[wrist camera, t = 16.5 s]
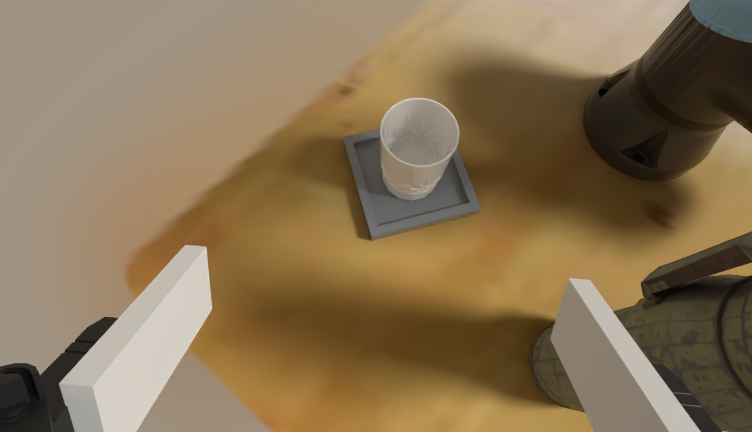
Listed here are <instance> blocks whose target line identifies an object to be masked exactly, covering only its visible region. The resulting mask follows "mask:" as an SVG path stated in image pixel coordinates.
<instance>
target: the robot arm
mask: <svg viewBox="0 0 752 432" xmlns="http://www.w3.org/2000/svg"><path fill="white" fill-rule="evenodd" d="M734 120H735V121H736V122H737V123H739V124H740V125H742V126H743V127H744V128H745V129H747V130H748V131H749V132H751V133H752V0H690V1H689V3H688V4H687V5H686V6H685V7H684V8H683V10H682V11H681V12H680V13H679V14H678V15H677V17H676V18H675V19H674V20H673V21H672V23H671V24H670V25H669V26H668V27H667V28H666V30H665V31H664V32H663V33H662V34H661V35H660V36H659V38H658V39H657V40H656V41H655V42H654V43H653V44H652V46H651V47H650V48H649V49H648V50H647V51H646V53H645V54H644V55H643V56H642V57H641V58H640V59H638V60H636V61H634V62H633V63H631V64H629V65H627V66H626V67H624V68H622V69H620V70H619V71H617V72H615V73H613V74H612V75H610V76H609V77H607V78H606V79H605V80H604V81H603V82H602V83H601V84H600V85H599V86H598V87H597V88H596V90H595V91H594V92H593V93H592V95H591V96H590V97H589V99H588V101H587V103H586V106H585V110H584V126H585V130H586V133H587V136H588V138H589V141H590V142H591V144H592V146H593V147H594V149H595V150H596V151H597V153H598V154H599V155H600V156H601V157H602V158H603V159H604V160H605V161H606V162H608V163H609V164H610V165H611V166H613V167H614V168H616V169H618V170H619V171H621V172H623V173H625V174H627V175H630V176H633V177H636V178H639V179H644V180H652V181H661V180H669V179H673V178H676V177H678V176H681V175H683V174H684V173H686V172H687V171H689V170H690V169H692V168H694V167H695V166H697V165H698V164H699V163H700V162H701V161H702V160H704V159H705V157H706V156H707V155H708V154H709V152H710V151H711V149H712V147H713V146H714V145H715V143H716V142H717V140H718V138H719V137H720V135H721V134H722V132H723V131H724V129H725V128H726V126H727V125H728V124H730V123H731V122H732V121H734ZM211 310H212V302H211V292H210V281H209V270H208V259H207V249H206V247H204V246H193V245H185V246H184V247H183V248H182V249H181V250H180V251H179V252H178V253H177V254H176V256H175V257H174V258H173V259H172V260H171V261H170V262H169V263H168V264H167V265H166V267H165V268H164V269H163V270H162V271H161V272H160V273H159V274H158V275H157V276H156V278H155V279H154V280H153V281H152V282H151V283H150V284H149V285H148V286H147V287H146V289H145V290H144V291H143V292H142V293H141V294H140V295H139V296H138V297H137V298H136V299H135V301H134V302H133V303H132V304H131V305H130V306H129V307H128V308H127V309H126V310H125V312H124V313H123V314H122V315H121V316H120V317H119V318H112V317H104V318H102V319H101V320H99V321H98V322H96V323H94V324H92V325H91V326H89V327H87V328H86V330H84V331H83V332H82V333H81V334H80V336H78V338H77V339H76V340H75V342H74V343H72V344H71V345H70V346H69V347H68V348H67V349H66V350H65V353H62V354H61V355H60V356H59V357H58V358H57V359H56V360H55V361H54V362H53V363H52V364H51V365H50V366H49V367H48V368H47V369H46V370H45V371H44V372H43V373H42V374H41V375H39V372H38V370H37V369H36V367H35V366H32V365H30V364H26V363H14V364H10V365H5V366H1V367H0V432H136V431H137V429H138V428H139V426H140V425H141V423H142V421H143V420H144V418H145V416H146V415H147V413H148V412H149V410H150V408H151V407H152V405H153V404H154V402H155V400H156V399H157V397H158V396H159V394H160V392H161V390H162V389H163V387H164V386H165V384H166V383H167V381H168V379H169V377H170V376H171V375H172V373H173V371H174V370H175V368H176V367H177V365H178V363H179V362H180V360H181V358H182V357H183V355H184V354H185V352H186V350H187V349H188V347H189V346H190V344H191V342H192V341H193V339H194V338H195V336H196V334H197V333H198V331H199V329H200V328H201V326H202V325H203V323H204V321H205V320H206V318H207V317H208V315H209V313H210V312H211ZM550 339H551V341H552V344H553V346H554V348H555V350H556V352H557V354H558V356H559V358H560V360H561V362H562V364H563V367H564V369H565V371H566V373H567V375H568V377H569V379H570V381H571V383H572V385H573V388H574V390H575V392H576V394H577V396H578V398H579V400H580V402H581V404H582V406H583V408H584V411H585V413H586V415H587V417H588V419H589V421H590V423H591V425H592V427H593V429H594V432H722V431H721V430H720V429H719V427H718V426H717V425H716V424H715V422H714V421H713V420H712V418H711V417H710V416H709V415H708V413H707V412H706V411H705V409H704V408H701V404H700V403H699V402H698V400H697V399H696V398H695V397H694V396H692V395H691V392H690V390H689V389H688V388H687V386H686V385H685V384H684V383H683V381H682V380H681V379H680V378H679V377H678V376H677V375H675V374H674V373H673V372H672V371H670V370H669V369H668V368H667V367H665V366H664V365H661V364H651V363H650V362H649V360H648V359H647V358H646V356H645V355H644V354H643V352H642V351H641V349H640V348H639V347H638V345H637V344H636V343H635V341H634V340H633V338H632V337H631V336H630V334H629V333H628V332H627V330H626V329H625V328H624V326H623V325H622V323H621V322H620V321H619V319H618V318H617V317H616V315H615V314H614V313H613V311H612V310H611V308H610V307H609V306H608V304H607V303H606V302H605V300H604V299H603V297H602V296H601V295H600V293H599V292H598V291H597V289H596V288H595V287H594V285H593V284H592V282H591V281H590V280H584V279H573V278H568V281H567V285H566V288H565V291H564V295H563V298H562V301H561V305H560V308H559V311H558V315H557V318H556V321H555V324H554V328H553V331H552V334H551V338H550Z"/></svg>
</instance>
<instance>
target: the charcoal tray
mask: <svg viewBox="0 0 752 432" xmlns="http://www.w3.org/2000/svg"><path fill="white" fill-rule="evenodd" d="M343 143H344V147H345V150H346V154H347V157H348V161H349V164H350V168H351V171H352V175H353V178H354V182H355V185H356V189H357V192H358V196H359V199H360V202H361V206H362V209H363V213H364V216H365V220H366V223H367V227H368V230H369V234H370V237H371V241H372V240H376V239H380V238H384V237H387V236H391V235H395V234H399V233H403V232H407V231H411V230H414V229H418V228H422V227H426V226H430V225H434V224H437V223H441V222H445V221H449V220H453V219H457V218H461V217H464V216H468V215H472V214H476V213H478V212H479V211H480V209H481V207H480V204H479V201H478V199H477V196H476V194H475V191H474V189H473V186H472V183H471V181H470V178H469V176H468V173H467V170H466V168H465V165H464V163H463V160H462V157H461V155H460V152H459V150H458V147H457V148H456V150H455V152H454V154H453V156H452V158H451V160H450V162H449V164H448V166H447V168H446V170H445V172H444V173H443V175H442V177H441V179H440V180H439V181H438V182H437V184H436V186H435V188H434V190H433V191H432V192H431V193H430V194H428V195H427V196H426V197H424V198H422V199H417V200H413V201H410V200H405V199H400V198H398V197H396V196H395V195H393V194H392V193H391V192H389V191H388V189H387V187H386V186H385V184H384V182H383V180H382V168H381V159H380V129H378V130H374V131H369V132H365V133H361V134H356V135H352V136H348V137H343Z"/></svg>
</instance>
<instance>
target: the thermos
mask: <svg viewBox="0 0 752 432" xmlns="http://www.w3.org/2000/svg"><path fill="white" fill-rule="evenodd" d="M748 263H752V232H749V233H747V234H744V235H741V236H739V237H736V238H734V239H731V240H729V241H726V242H723V243H721V244H718V245H716V246H713V247H711V248H708V249H705V250H703V251H700V252H698V253H695V254H693V255H690V256H687V257H685V258H682V259H680V260H677V261H674V262H671V263H669V264H666V265H663V266H660V267H658V268H657V269H655V270H654V271H653V272H652V273H650V274H649V275H648V276H647V277H646V278H645V279H644V280H643V281H642V282H641V287H642V292H643V296H644V297H645V298H643V299H640V300H639V301H638V302H637V303H636V305H634V306H631V307H627V308H624V309H620V310H617V311H613V313H614V314H615V315H616V317H617V318H618V319H619V321H620V322H621V323H622V325H623V326H624V328H625V329H626V330H627V332H628V333H629V334H630V336H631V337H632V338H633V340H634V341H635V343H636V344H637V345H638V347H639V348H640V349H641V351H642V352H643V354H644V355H645V356H646V358H647V359H648V360H649V362H650V363H651V364H661V365H664V366H665V367H667V368H668V369H669V370H670V371H672V372H673V373H674V374H675V375H677V376H678V377H679V378H680V379H681V380H682V381H683V383H684V384H685V385H686V386H687V388H688V389H689V390H690V392H691V395H692V396H694V397H695V398H696V399H697V400H698V402H699V403H700V404H701V408H704V409H705V411H706V412H707V413H708V415H709V416H710V417H711V418H712V420H713V421H714V422H715V424H716V425H717V426H718V427H719V429H720V430H721V431H728V432H752V275H751V276H739V275H730V274H729V275H717V276H709V275H713V274H716V273H719V272H722V271H726V270H729V269H732V268H735V267H739V266H742V265H745V264H748ZM706 276H707V277H706ZM703 277H704V278H703ZM693 280H694V281H693ZM690 281H691V282H690ZM553 328H554V324H553V325H551V326H549V327H547V328H545V329H544V330H543V331H542V332H541V333H540V334H539V335H538V336H537V337H536V338H535V340H534V343H533V345H532V347H531V352H530V367H531V372H532V376H533V378H534V380H535V382H536V384H537V386H538V388H539V389H540V390H541V391H542V392H543V393H544V394H545V395H546V396H547V398H548V399H550V400H551V401H553V402H555V403H556V404H558V405H560V406H562V407H566V408H570V409H572V410H577V411H581V412H585V411H584V408H583V406H582V404H581V402H580V400H579V398H578V396H577V394H576V392H575V390H574V388H573V385H572V383H571V381H570V379H569V377H568V375H567V373H566V371H565V369H564V367H563V364H562V362H561V360H560V358H559V356H558V354H557V352H556V350H555V348H554V346H553V344H552V341H551V339H550V338H551V334H552V331H553Z"/></svg>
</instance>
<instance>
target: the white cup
mask: <svg viewBox="0 0 752 432" xmlns="http://www.w3.org/2000/svg"><path fill="white" fill-rule="evenodd" d="M459 138H460V131H459V126H458V123H457V120H456V119H455V117H454V115H453V114H452V113H451V112H450V111H449V110H448V109H447V108H446V107H445V106H443V105H442V104H440V103H438V102H436V101H434V100H431V99H427V98H409V99H405V100H402V101H400V102H398V103H396V104H394V105H393V106H392V107H391V108H390V109H389V110H388V111H387V112H386V113H385V115H384V117H383V119H382V121H381V125H380V159H381V168H382V180H383V182H384V184H385V186H386V187H387V189H388V191H389V192H391V193H392V194H393V195H395V196H396V197H398V198H400V199H405V200H410V201H413V200H417V199H422V198H424V197H426V196H427V195H428V194H430V193H431V192H432V191H433V190H434V188H435V186H436V184H437V182H438V181H439V180H440V179H441V177H442V175H443V173H444V172H445V170H446V168H447V166H448V164H449V162H450V160H451V158H452V156H453V154H454V152H455V150H456V148H457V146H458V143H459Z"/></svg>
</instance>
